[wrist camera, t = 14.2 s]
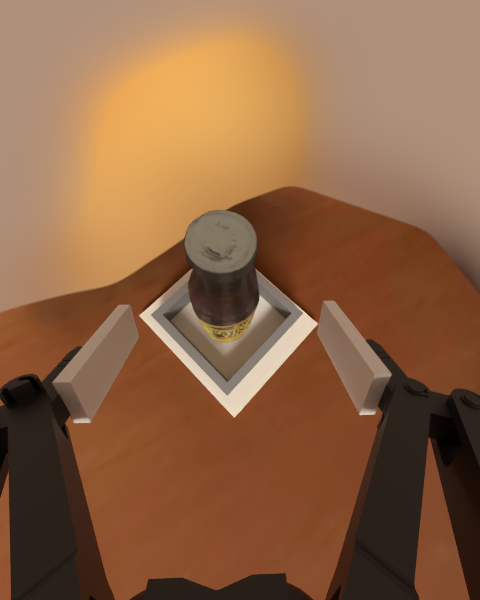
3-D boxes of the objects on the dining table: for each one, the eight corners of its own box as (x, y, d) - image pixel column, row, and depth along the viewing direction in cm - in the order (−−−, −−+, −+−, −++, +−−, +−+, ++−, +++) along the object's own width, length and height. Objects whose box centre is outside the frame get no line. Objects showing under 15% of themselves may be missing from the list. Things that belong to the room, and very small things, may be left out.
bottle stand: (142, 317, 33) (127, 309, 28) (224, 244, 36) (222, 226, 31) (234, 415, 29) (233, 424, 25) (314, 325, 33) (327, 318, 28)
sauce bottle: (219, 353, 30) (187, 326, 11) (195, 313, 32) (131, 229, 13) (261, 326, 31) (298, 259, 12) (235, 289, 33) (234, 177, 14)
